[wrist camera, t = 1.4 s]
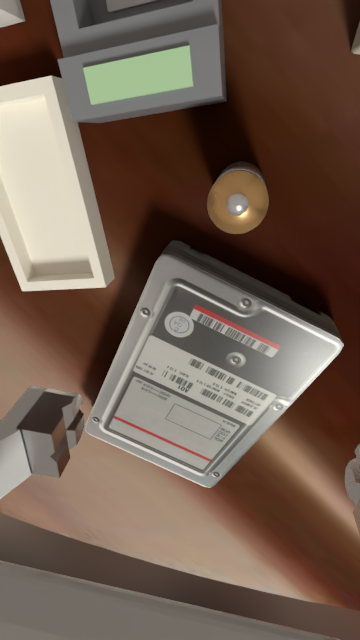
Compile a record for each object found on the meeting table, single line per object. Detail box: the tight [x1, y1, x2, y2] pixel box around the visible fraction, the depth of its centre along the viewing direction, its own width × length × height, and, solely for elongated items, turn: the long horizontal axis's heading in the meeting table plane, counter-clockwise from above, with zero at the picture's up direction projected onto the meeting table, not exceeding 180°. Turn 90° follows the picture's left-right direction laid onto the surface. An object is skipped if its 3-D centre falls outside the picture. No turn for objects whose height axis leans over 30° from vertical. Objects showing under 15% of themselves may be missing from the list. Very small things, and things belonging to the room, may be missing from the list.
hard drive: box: [85, 240, 344, 488], centre depth 37 cm, size 18×27×4 cm
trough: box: [0, 76, 115, 291], centre depth 30 cm, size 10×17×2 cm, turn 8°
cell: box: [207, 161, 269, 234], centre depth 25 cm, size 4×4×8 cm
